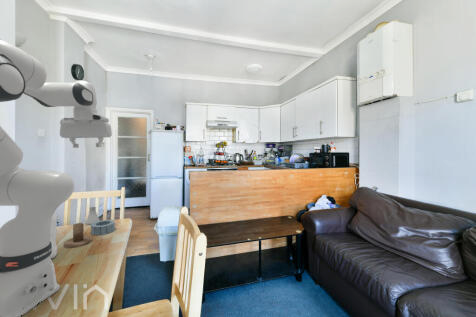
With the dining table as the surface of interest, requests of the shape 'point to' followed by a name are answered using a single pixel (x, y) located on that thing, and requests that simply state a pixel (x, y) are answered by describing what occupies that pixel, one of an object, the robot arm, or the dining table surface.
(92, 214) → the flask
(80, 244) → the walnut lid
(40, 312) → the dining table surface
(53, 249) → the water bottle
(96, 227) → the slate-blue bowl
